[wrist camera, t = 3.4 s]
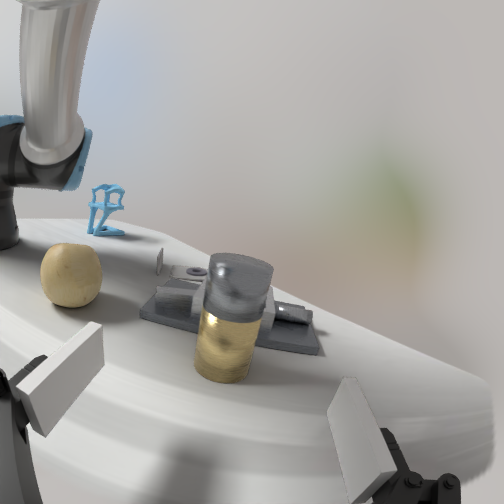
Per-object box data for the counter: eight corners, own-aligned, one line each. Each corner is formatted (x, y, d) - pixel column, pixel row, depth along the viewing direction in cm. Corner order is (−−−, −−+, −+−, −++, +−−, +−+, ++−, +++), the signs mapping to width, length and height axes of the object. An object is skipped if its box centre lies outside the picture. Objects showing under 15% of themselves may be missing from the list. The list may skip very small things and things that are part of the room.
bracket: (216, 286, 45) (219, 266, 45) (155, 277, 43) (157, 256, 42) (213, 273, 52) (216, 255, 51) (159, 265, 49) (161, 247, 49)
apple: (42, 317, 22) (26, 244, 22) (58, 313, 29) (43, 255, 29) (108, 298, 25) (90, 225, 25) (110, 297, 32) (95, 240, 32)
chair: (81, 231, 58) (86, 181, 55) (105, 228, 66) (111, 182, 63) (99, 238, 56) (105, 184, 53) (124, 235, 63) (131, 186, 61)
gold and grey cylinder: (188, 375, 22) (204, 263, 19) (199, 346, 26) (215, 249, 24) (246, 387, 22) (275, 278, 20) (249, 357, 26) (272, 261, 24)
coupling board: (139, 317, 29) (141, 288, 28) (170, 284, 40) (173, 262, 40) (316, 355, 29) (326, 328, 28) (302, 312, 41) (308, 290, 40)
